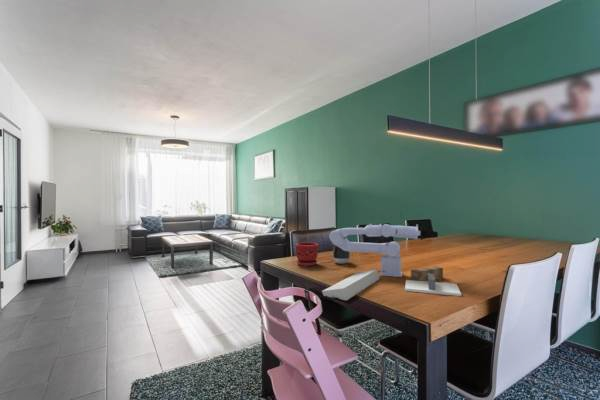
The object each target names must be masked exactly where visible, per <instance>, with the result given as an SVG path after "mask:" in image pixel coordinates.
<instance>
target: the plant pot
mask: <svg viewBox="0 0 600 400" xmlns="http://www.w3.org/2000/svg"><path fill="white" fill-rule="evenodd" d="M295 255H296V258H297V261H296V263H297V264H298V265H299V266H302V267H307V266H308V267H311V266H315V265H316V264H317V263H318V261H317V258H318V255H319V244H318V243H316V242H298V243H295Z"/></svg>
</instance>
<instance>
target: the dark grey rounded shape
mask: <svg viewBox="0 0 600 400" xmlns="http://www.w3.org/2000/svg"><path fill="white" fill-rule="evenodd" d="M350 258H351V251H344V250H342V249H341V248H339V247H338V246H336V245H334V244H333V249H332V259H333V261H334V262H335V263H336V264H338V265H345V264H347V263H348V262H349V261H350Z"/></svg>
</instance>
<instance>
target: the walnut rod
mask: <svg viewBox="0 0 600 400" xmlns="http://www.w3.org/2000/svg"><path fill="white" fill-rule="evenodd" d="M428 273H430V274H434V277H435V280H440V279H443V278H444V267H441V266H429V267H428V266H427V267H423V268H417V269H415V268H414V269H410V280H413V281H425V282H428Z"/></svg>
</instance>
